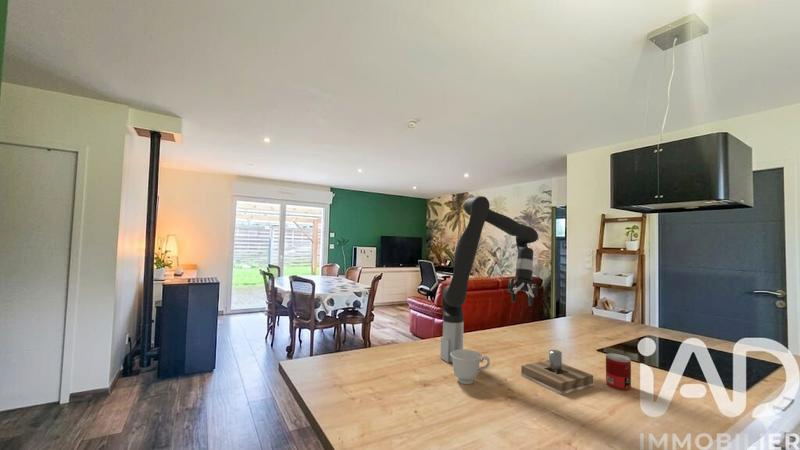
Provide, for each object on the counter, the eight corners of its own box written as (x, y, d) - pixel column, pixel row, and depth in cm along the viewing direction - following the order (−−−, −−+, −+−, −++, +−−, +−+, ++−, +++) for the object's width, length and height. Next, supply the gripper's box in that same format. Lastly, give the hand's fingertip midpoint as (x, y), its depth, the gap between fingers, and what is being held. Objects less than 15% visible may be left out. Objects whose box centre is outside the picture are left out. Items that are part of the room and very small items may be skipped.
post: (557, 381, 126) (556, 354, 127) (547, 376, 130) (546, 351, 131) (564, 378, 129) (563, 352, 129) (554, 374, 132) (553, 349, 133)
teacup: (490, 390, 119) (491, 362, 120) (448, 385, 122) (449, 358, 123) (488, 377, 131) (488, 351, 131) (450, 373, 134) (450, 348, 134)
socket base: (560, 394, 117) (560, 383, 117) (521, 375, 133) (521, 365, 133) (593, 386, 125) (593, 375, 125) (552, 368, 141) (552, 359, 141)
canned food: (630, 392, 120) (630, 362, 121) (604, 386, 125) (604, 356, 126) (631, 385, 126) (631, 356, 127) (606, 380, 131) (606, 351, 132)
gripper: (515, 265, 153) (512, 301, 149) (542, 271, 156) (540, 306, 152) (506, 267, 160) (503, 301, 156) (532, 272, 163) (530, 306, 159)
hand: (521, 303), depth 154 cm, fingers open, 8 cm apart
